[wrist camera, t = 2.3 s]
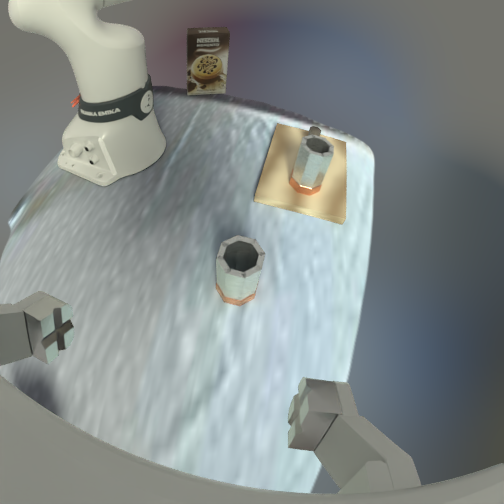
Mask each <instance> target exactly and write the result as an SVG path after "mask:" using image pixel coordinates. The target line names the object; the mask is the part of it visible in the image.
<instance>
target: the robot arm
mask: <svg viewBox="0 0 504 504" xmlns="http://www.w3.org/2000/svg"><path fill="white" fill-rule="evenodd" d="M126 1H130V0H9V5H8V9H9V10H8V11H9V16H10V18H11V21H12V22H13V24H14V25H15V26H16V27H18V28H19V29H21V30H23V31H26V32H32V33H37V34H41V35H44V36H46V37H48V38H50V39H51V40H53V41H54V42H56V43H57V44H58V45H59V46H60V47H61V48H62V49H63V50H64V52H65V53H66V55H67V56H68V58H69V60H70V63H71V65H72V68H73V71H74V74H75V76H76V80H77V83H78V87H79V90H80V94H79V96H78V97H77V98H75V99H74V100H73V101H72V102H71V103H73V102H74V101H76V102H75V103H74V104H73V106H72V107H74V106H75V105H76V104H78V103H79V108H78V113H77V115H76V116H75V117H74V118H73V120H72V121H71V122H70V124H69V125H68V126H67V128H66V129H65V131H64V133H63V137H62V143H63V147H64V149H63V150H62V152H61V154H60V156H59V158H58V166H59V167H60V168H62V169H64V170H66V171H69V172H71V173H73V174H75V175H78V176H80V177H82V178H85V179H87V180H89V181H91V182H94V183H96V184H98V185H101V186H108V185H110V184H112V183H113V182H115V181H116V180H118V179H120V178H122V177H125V176H128V175H131V174H135V173H137V172H140V171H142V170H144V169H146V168H147V167H149V166H150V165H152V164H153V163H154V162H156V161H157V160H158V159H159V158H160V156H161V155H162V154H163V152H164V150H165V147H166V139H165V137H164V135H163V133H162V131H161V129H160V127H159V124H158V122H157V119H156V116H155V112H154V108H153V90H152V83H151V77H150V75H149V74H148V73H147V63H146V53H145V41H144V38H143V36H142V34H141V33H140V32H139V31H138V30H137V29H135V28H133V27H129V26H126V25H120V24H111V23H106V22H103V21H101V20H100V19H99V18H98V17H97V12H98V11H99V10H100V9H102V8H103V7H107V6H110V5H114V4H118V3H121V2H126ZM72 317H73V312H72V307H71V306H70V305H69V304H67V303H65V302H63V301H61V300H59V299H57V298H55V297H53V296H50V295H49V294H47V293H45V292H43V291H38V292H36V293H34V294H32V295H31V296H29V297H27V298H25V299H23V300H21V301H20V302H18V303H16V304H14V305H12V304H1V305H0V366H2V365H5V364H8V363H12V362H15V361H18V360H21V359H25V358H28V357H31V356H32V355H33V356H34V357H36V358H38V359H39V360H41V361H43V362H45V363H46V364H49V363H51V362H52V361H53V360H54V359H55V358H56V357H57V356H59V351H60V350H65V349H67V348H68V347H69V346H70V344H71V342H72V340H73V338H74V326H73V324H72V322H71V318H72ZM298 391H299V393H298V394H296V395H295V396H294V397H293V399H292V402H291V405H290V408H289V413H288V423H289V424H290V425H291V428H290V430H289V431H288V448H293V449H300V450H308V451H314V453H315V455H316V456H317V458H318V459H319V461H320V462H321V463H322V465H323V466H324V467H325V469H326V470H327V472H328V473H329V475H330V476H331V477H332V479H333V480H334V481H335V483H336V484H337V485H338V487H339V488H340V489H341V490H340V491H339V492H338V493H337V494H311V493H295V492H283V491H274V490H266V489H258V488H252V487H246V486H240V485H235V484H230V483H225V482H220V481H216V480H211V479H207V478H203V477H199V476H196V475H192V474H189V473H185V472H182V471H178V470H175V469H172V468H169V467H166V466H163V465H160V464H157V463H154V462H152V461H149V460H146V459H144V458H141V457H138V456H136V455H133V454H131V453H129V452H126V451H124V450H122V449H119V448H117V447H115V446H113V445H111V444H108V443H106V442H104V441H102V440H100V439H98V438H96V437H94V436H92V435H90V434H88V433H86V432H85V431H83V430H81V429H79V428H77V427H75V426H74V425H72V424H70V423H68V422H67V421H65V420H63V419H62V418H60V417H58V416H57V415H55V414H54V413H52V412H50V411H49V410H47V409H46V408H44V407H43V406H41V405H40V404H38V403H37V402H35V401H34V400H33V399H31V398H30V397H28V396H27V395H26V394H24V393H23V392H22V391H20V390H19V389H18V388H16V387H15V386H14V385H12V384H11V383H10V382H9V381H7V380H6V379H5V378H4V377H2V376H1V375H0V504H504V463H502V464H498V465H495V466H492V467H489V468H487V469H484V470H481V471H478V472H475V473H472V474H469V475H465V476H462V477H458V478H454V479H451V480H447V481H443V482H438V483H434V484H429V485H424V486H421V483H420V480H419V477H418V474H417V471H416V468H415V465H414V463H413V460H412V458H411V457H410V456H409V455H408V454H406V453H405V452H404V451H403V450H402V449H400V448H399V447H398V446H397V445H396V444H395V443H393V442H392V441H391V440H390V439H389V438H387V437H386V436H385V435H384V434H383V433H382V432H380V431H379V430H378V429H377V428H376V427H375V426H373V425H372V424H371V423H370V422H369V421H368V420H366V419H365V418H364V417H363V416H359V415H358V411H357V408H356V404H355V401H354V398H353V394H352V391H351V388H350V385H349V384H348V383H346V382H337V381H326V380H319V379H313V378H307V377H303V378H302V380H301V381H300V383H299V386H298Z"/></svg>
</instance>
